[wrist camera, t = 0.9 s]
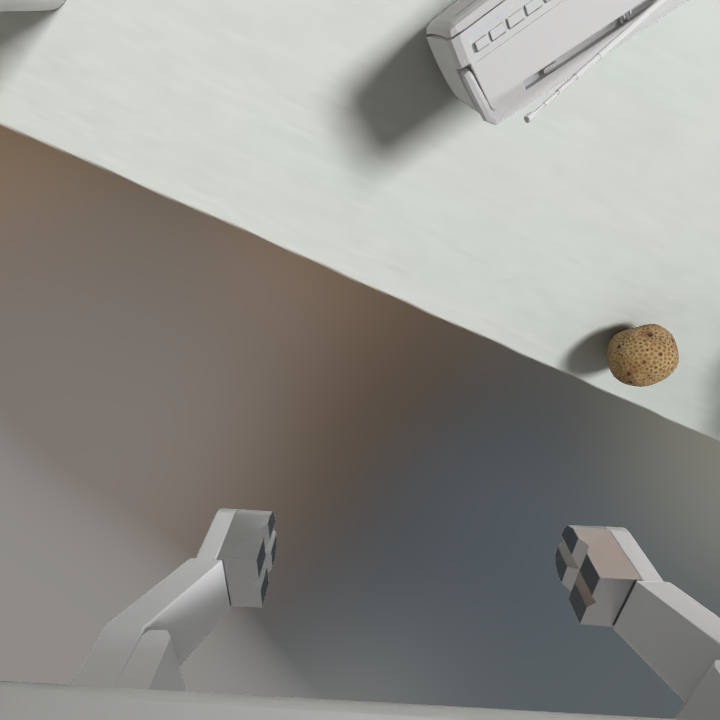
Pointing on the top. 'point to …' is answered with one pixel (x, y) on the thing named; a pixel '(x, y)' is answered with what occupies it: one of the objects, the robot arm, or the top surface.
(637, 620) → the robot arm
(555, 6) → the stereo radio cassette player
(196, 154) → the top surface
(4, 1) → the mug
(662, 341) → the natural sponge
